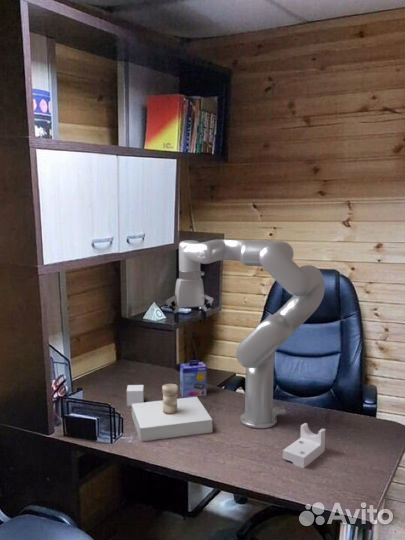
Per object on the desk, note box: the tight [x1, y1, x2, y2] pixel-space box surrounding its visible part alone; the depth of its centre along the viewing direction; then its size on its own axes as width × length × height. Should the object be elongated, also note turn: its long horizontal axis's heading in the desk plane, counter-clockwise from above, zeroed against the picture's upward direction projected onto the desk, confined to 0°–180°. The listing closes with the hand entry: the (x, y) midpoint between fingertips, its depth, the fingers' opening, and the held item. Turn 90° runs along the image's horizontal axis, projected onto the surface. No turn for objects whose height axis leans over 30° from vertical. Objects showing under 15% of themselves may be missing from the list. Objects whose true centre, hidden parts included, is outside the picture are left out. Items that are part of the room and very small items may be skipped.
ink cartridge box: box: [179, 359, 208, 398], centre depth 212 cm, size 10×6×14 cm, turn 107°
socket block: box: [131, 396, 213, 442], centre depth 188 cm, size 24×20×4 cm
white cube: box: [126, 384, 145, 407], centre depth 205 cm, size 6×6×6 cm
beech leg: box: [161, 383, 179, 415], centre depth 187 cm, size 5×5×13 cm
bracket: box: [282, 422, 326, 469], centre depth 166 cm, size 13×7×8 cm, turn 140°
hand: (189, 322), depth 197 cm, fingers open, 9 cm apart
